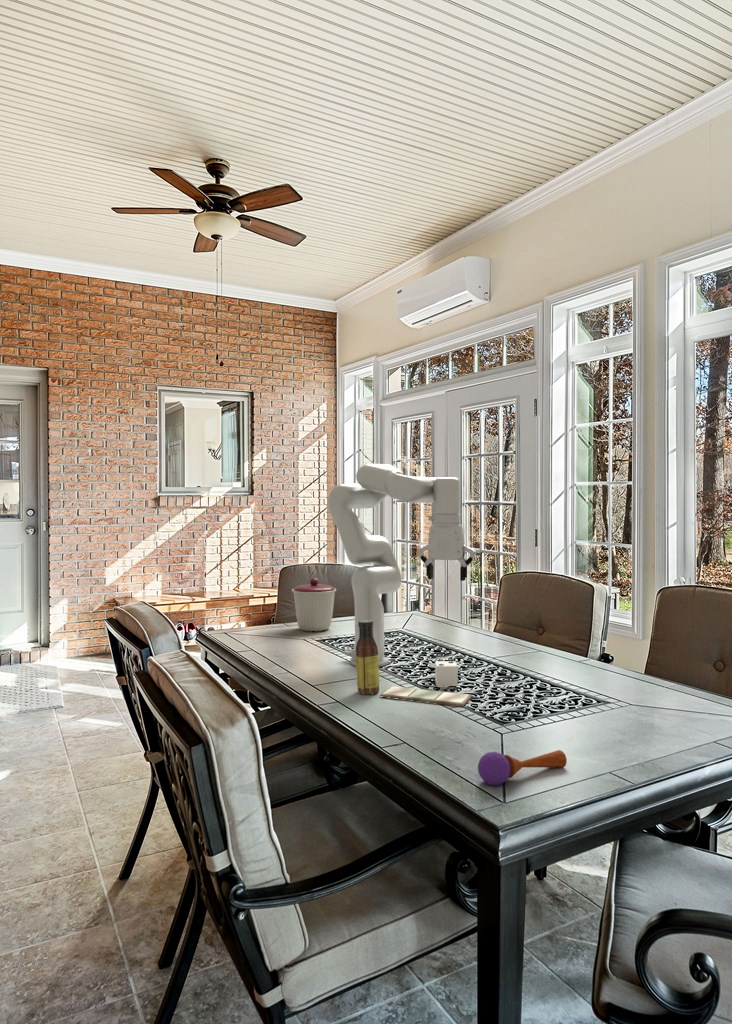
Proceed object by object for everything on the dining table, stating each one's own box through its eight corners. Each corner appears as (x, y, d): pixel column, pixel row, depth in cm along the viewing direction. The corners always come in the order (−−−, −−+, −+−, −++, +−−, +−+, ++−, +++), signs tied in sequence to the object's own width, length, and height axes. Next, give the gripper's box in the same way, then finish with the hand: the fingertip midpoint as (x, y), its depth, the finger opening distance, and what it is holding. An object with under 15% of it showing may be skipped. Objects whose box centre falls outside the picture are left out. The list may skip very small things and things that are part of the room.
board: (379, 697, 187) (379, 694, 187) (391, 688, 195) (391, 685, 195) (463, 706, 178) (463, 703, 178) (471, 697, 186) (471, 694, 186)
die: (436, 687, 197) (436, 665, 197) (435, 681, 203) (435, 660, 203) (457, 687, 197) (457, 665, 196) (455, 681, 203) (455, 660, 202)
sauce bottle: (382, 690, 194) (382, 619, 193) (375, 696, 188) (375, 623, 187) (360, 688, 196) (360, 618, 195) (352, 694, 190) (352, 622, 189)
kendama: (574, 752, 136) (494, 763, 126) (568, 780, 137) (488, 793, 127) (553, 737, 141) (474, 747, 132) (547, 764, 142) (469, 776, 132)
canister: (318, 635, 270) (318, 581, 269) (283, 630, 280) (282, 578, 279) (345, 628, 285) (344, 577, 285) (310, 623, 295) (310, 574, 294)
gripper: (413, 520, 198) (413, 579, 199) (473, 521, 192) (473, 582, 192) (421, 519, 205) (421, 576, 206) (479, 520, 199) (479, 579, 199)
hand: (446, 579), depth 199 cm, fingers open, 9 cm apart
